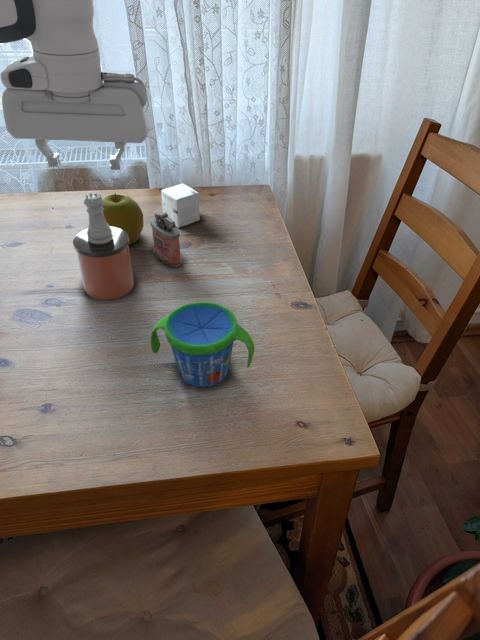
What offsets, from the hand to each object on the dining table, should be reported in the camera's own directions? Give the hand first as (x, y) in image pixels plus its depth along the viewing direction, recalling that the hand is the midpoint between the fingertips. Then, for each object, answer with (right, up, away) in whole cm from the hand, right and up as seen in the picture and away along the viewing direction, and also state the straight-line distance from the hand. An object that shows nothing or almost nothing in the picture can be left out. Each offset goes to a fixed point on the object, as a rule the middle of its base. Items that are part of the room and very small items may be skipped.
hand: (86, 167), depth 82 cm
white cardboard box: (+10, 0, +36) cm, 37 cm away
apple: (-2, -6, +28) cm, 29 cm away
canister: (-1, -17, +15) cm, 23 cm away
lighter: (+9, -11, +24) cm, 27 cm away
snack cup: (+19, -33, 0) cm, 38 cm away
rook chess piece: (0, -10, +9) cm, 13 cm away
